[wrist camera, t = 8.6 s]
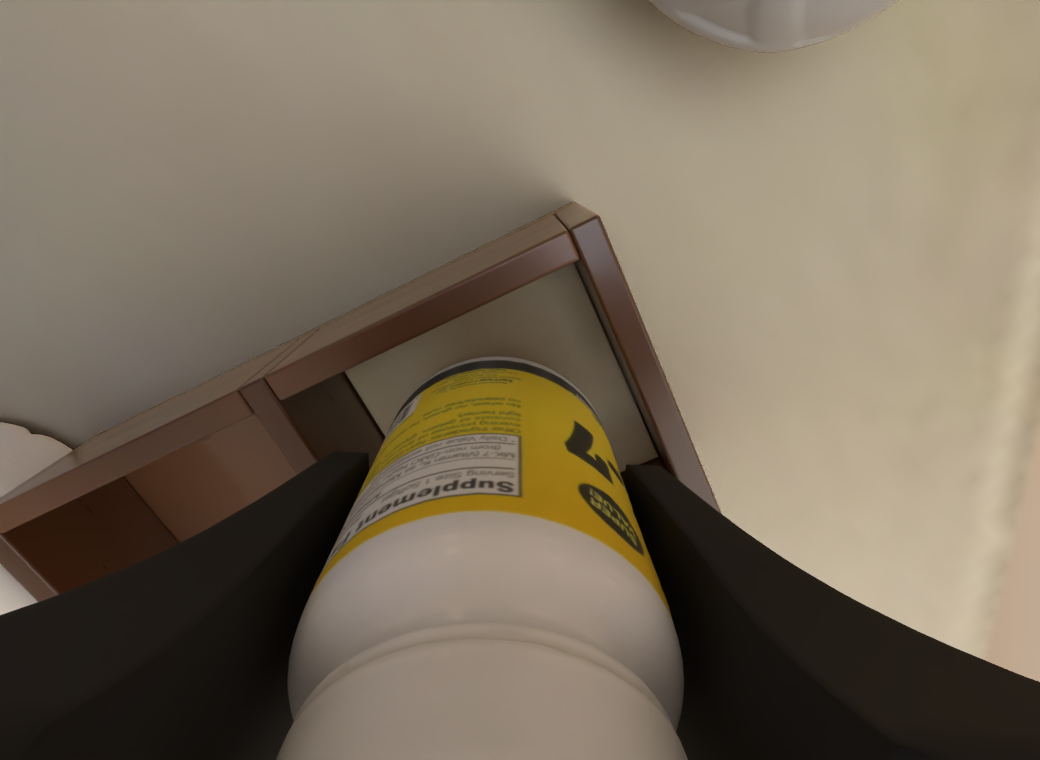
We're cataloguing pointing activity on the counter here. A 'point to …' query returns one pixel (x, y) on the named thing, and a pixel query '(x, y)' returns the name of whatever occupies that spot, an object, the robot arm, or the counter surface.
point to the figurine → (770, 20)
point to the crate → (352, 402)
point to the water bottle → (5, 465)
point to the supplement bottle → (488, 591)
